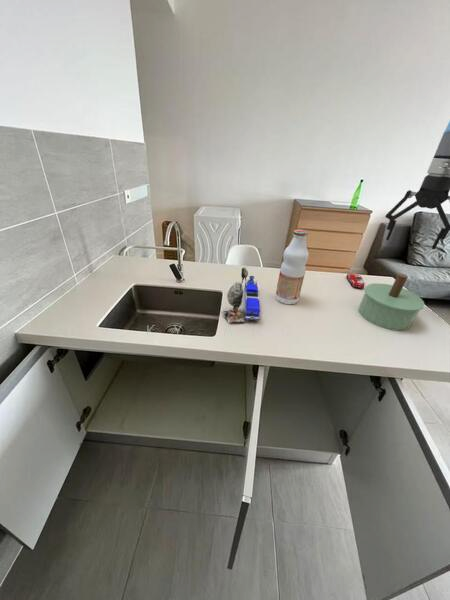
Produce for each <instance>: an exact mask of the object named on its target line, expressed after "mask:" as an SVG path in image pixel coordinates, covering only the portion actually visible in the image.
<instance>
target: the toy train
mask: <svg viewBox="0 0 450 600" xmlns="http://www.w3.org/2000/svg"><path fill="white" fill-rule="evenodd" d="M248 277H249V278H248V280H247V281H245V280H244V316H245V320H246V321H249V320H251V321H259V320H260V314H261V306H260V296H259V288H258V280H257V279H256V280H255V276H254V275H248Z"/></svg>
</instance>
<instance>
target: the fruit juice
mask: <svg viewBox="0 0 450 600" xmlns="http://www.w3.org/2000/svg"><path fill="white" fill-rule="evenodd" d="M292 235H293V237H292V239H291V240H290V243H289V244H288V246H287V247H286V248H285V249H284V250H283V253H282V254H283V255H282V257H283V261H282V263H281V264H280V268H279V273H278V279H277V285H276V291H275V299H276V301H278V302H279V303H281V304H283V305H284V304H285V305H294V304H297V303H298V302H299V300H300V295H301V292H302V288H303V283H304V279H305V275H306V271H307V270H306V269H307V266H306V263H308V260H309V256H310V253H309V250H308V246H307V237H308V235H309V231H308V230H305V229H293V233H292Z"/></svg>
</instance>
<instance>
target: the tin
mask: <svg viewBox="0 0 450 600" xmlns="http://www.w3.org/2000/svg"><path fill="white" fill-rule="evenodd" d="M419 312H420V310H418V311H402V310H397V309H393V308H390V307H387V306H384V305H382V304H379V303H377V302H376V301H374V300H372V299H371V298H370V297H368V296H367V295H366V293H365V292H364V294H363V296H362V299H361V301H360V303H359V306H358V313H359V314H360V315H361V317H362V318H363V319H365V320H366V321H368V322H370V324H373V325H375V326H378V327H380V328H384V329H387V330H393V331H405V330H407V329H409V328H410V327H411V326H412V324H413V322H414V320H415V318H417V315H418V313H419Z"/></svg>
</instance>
